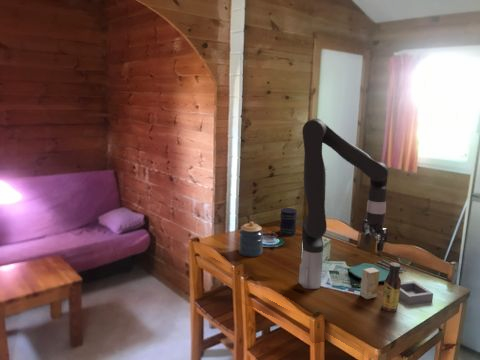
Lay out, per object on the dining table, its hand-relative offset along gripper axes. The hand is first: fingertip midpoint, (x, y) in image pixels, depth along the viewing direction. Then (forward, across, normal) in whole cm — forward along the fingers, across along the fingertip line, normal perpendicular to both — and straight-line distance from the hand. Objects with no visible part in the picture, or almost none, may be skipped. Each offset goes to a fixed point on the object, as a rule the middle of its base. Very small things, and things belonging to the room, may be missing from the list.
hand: (373, 247), depth 179 cm
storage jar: (+22, -83, -3) cm, 86 cm away
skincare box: (+23, 0, -1) cm, 23 cm away
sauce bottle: (+23, +12, +2) cm, 26 cm away
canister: (+22, -59, -35) cm, 72 cm away
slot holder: (+23, +6, +17) cm, 29 cm away
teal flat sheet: (+23, -19, +18) cm, 35 cm away
